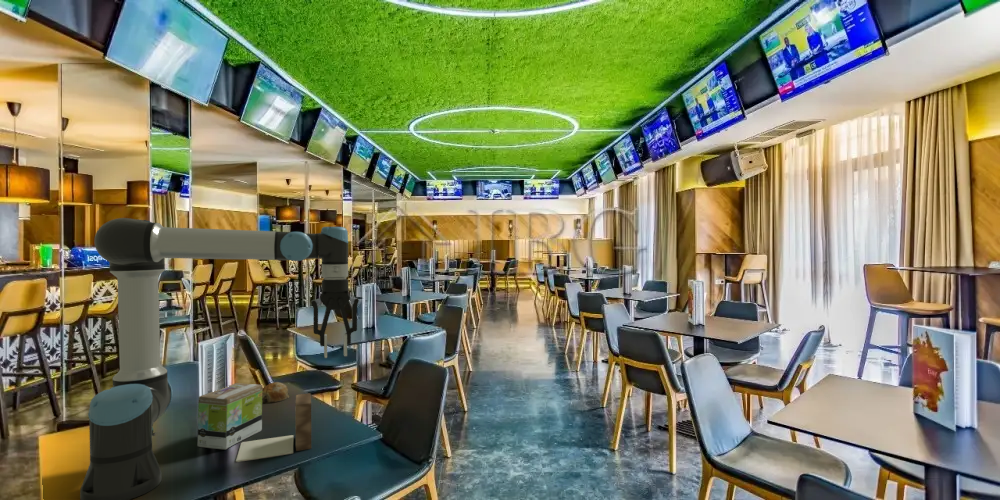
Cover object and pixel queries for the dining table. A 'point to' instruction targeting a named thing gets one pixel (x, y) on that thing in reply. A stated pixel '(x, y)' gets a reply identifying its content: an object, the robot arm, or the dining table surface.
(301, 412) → the slab
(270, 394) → the bread roll
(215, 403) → the tea box
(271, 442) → the mat
